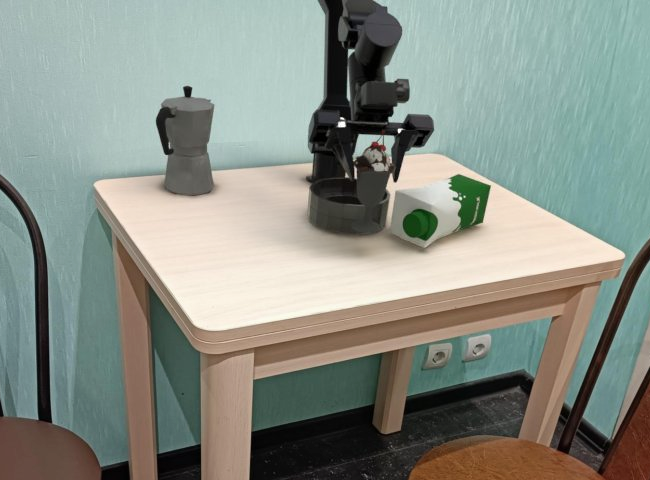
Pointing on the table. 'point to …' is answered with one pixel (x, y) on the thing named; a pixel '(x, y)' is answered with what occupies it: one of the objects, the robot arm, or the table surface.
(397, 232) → the milk carton
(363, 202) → the sundae
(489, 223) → the table surface
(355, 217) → the bowl
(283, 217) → the table surface
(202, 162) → the coffeepot
